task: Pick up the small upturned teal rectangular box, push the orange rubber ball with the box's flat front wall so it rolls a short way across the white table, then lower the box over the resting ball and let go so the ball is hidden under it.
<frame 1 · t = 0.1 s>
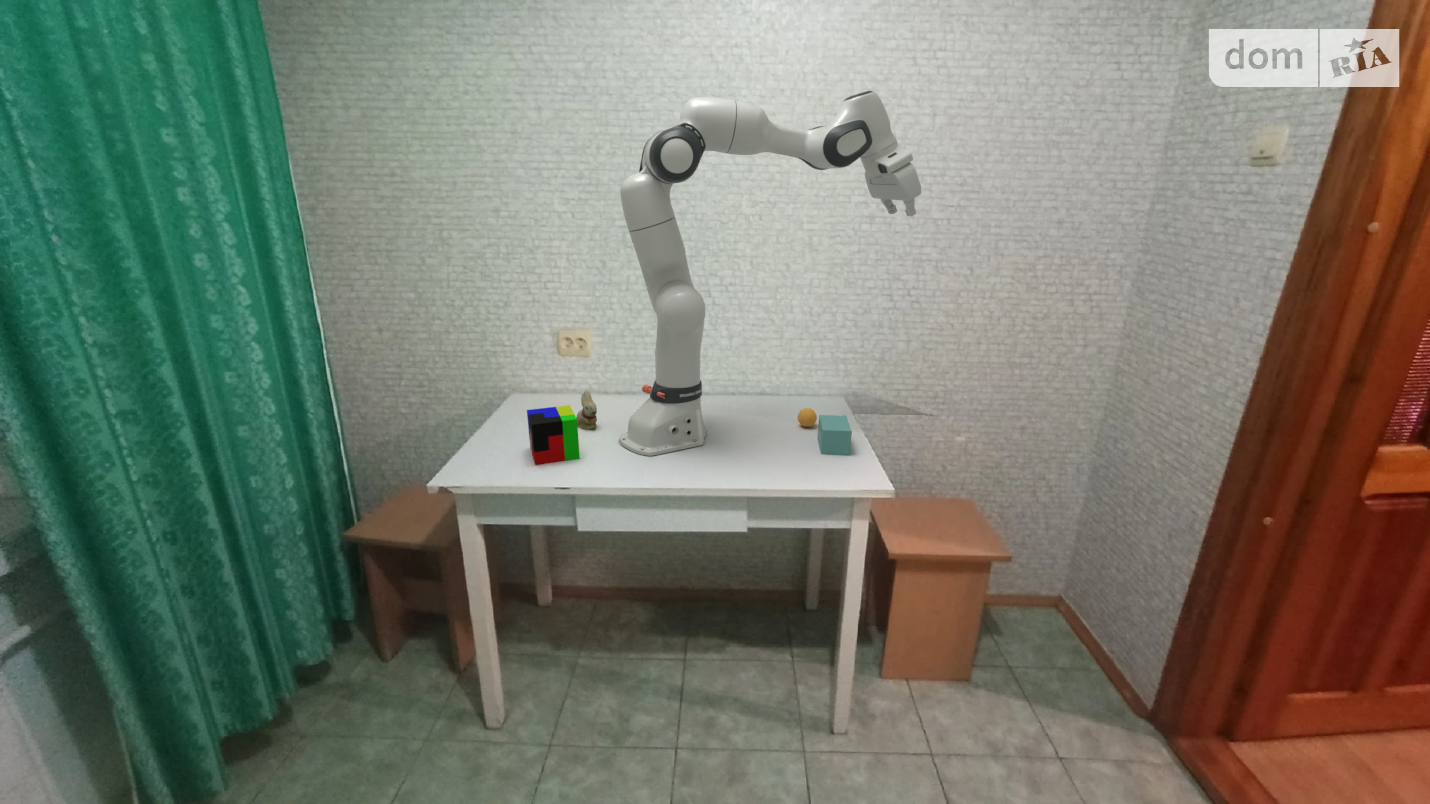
hand: (902, 214, 155), 54 cm above the table, tool tilted 30°, fingers open, 8 cm apart
puzzle toy: (554, 454, 149), on the table
chocolate bunny: (586, 426, 166), on the table
ball: (807, 417, 167), on the table
teal rectangular box: (833, 446, 156), on the table
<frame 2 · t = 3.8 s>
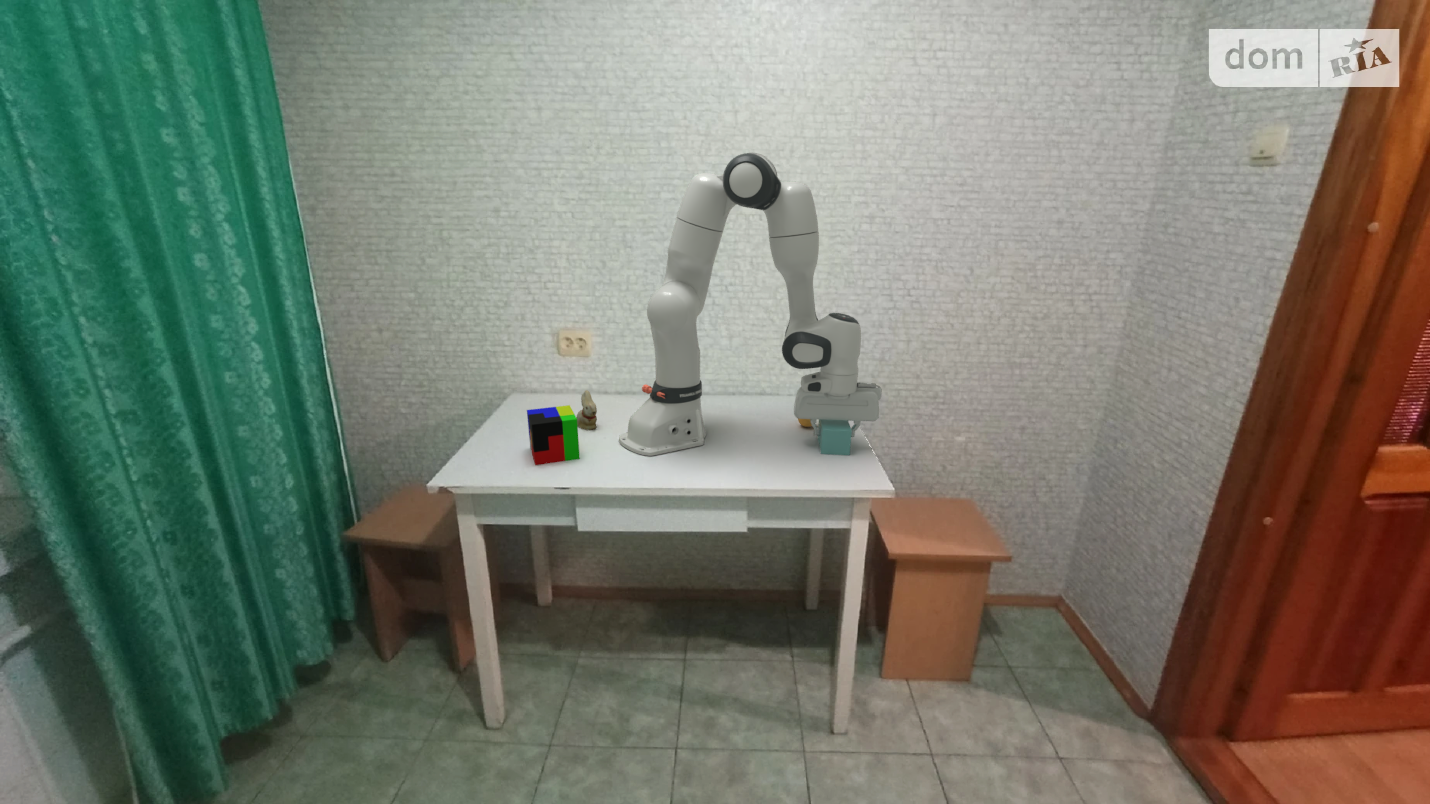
hand: (833, 435, 155), 3 cm above the table, tool pointing down, fingers closed on teal rectangular box, 7 cm apart
teal rectangular box: (833, 446, 156), on the table, touching gripper
everything else where it was.
when the fingers open (3 cm above the table, at t = 16.1 s): teal rectangular box stays where it is, point 2 cm above the table.
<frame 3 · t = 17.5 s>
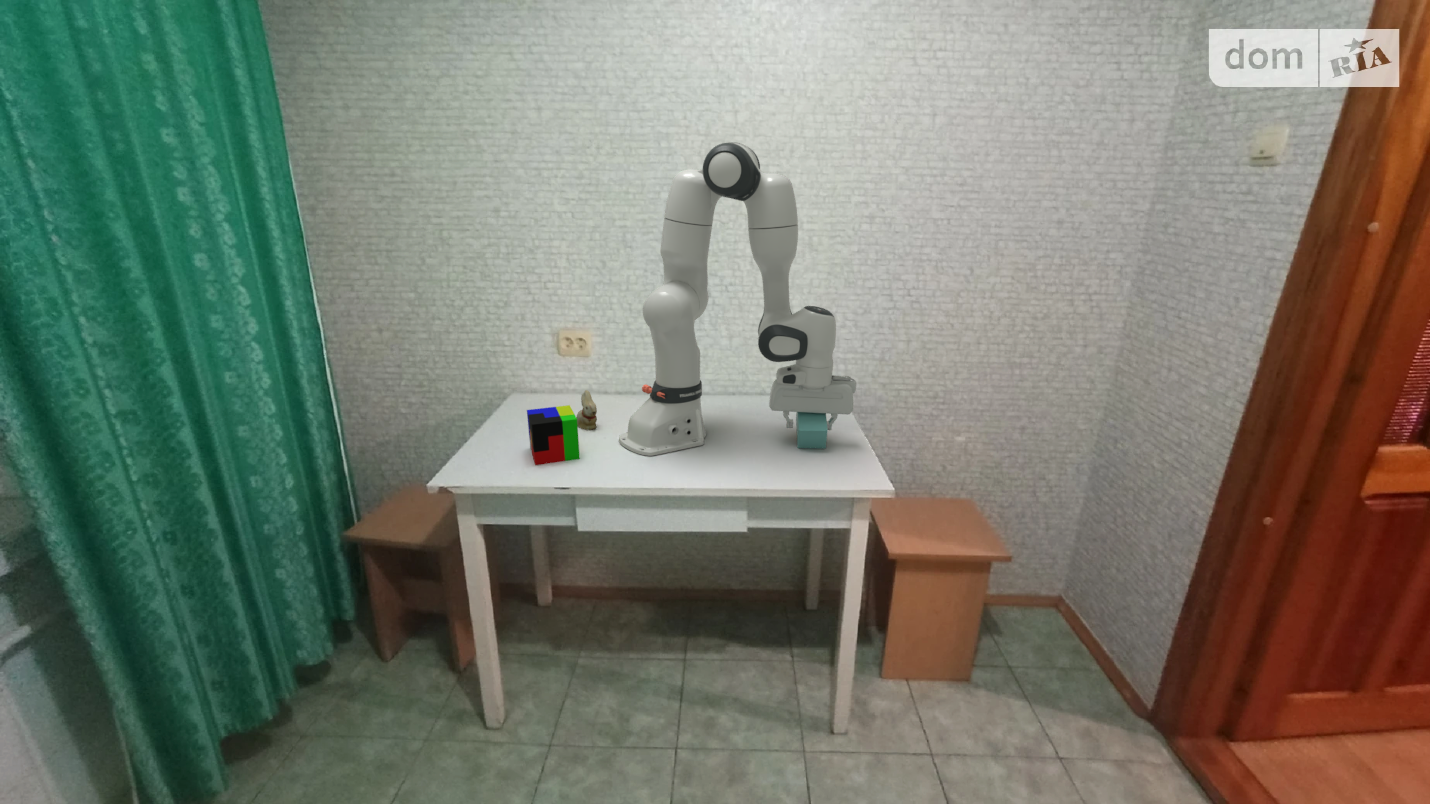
hand: (808, 428, 156), 4 cm above the table, tool pointing down, fingers open, 8 cm apart
ball: (809, 428, 159), on the table
teal rectangular box: (810, 433, 158), point 2 cm above the table, tilted 24°, touching gripper
everything else where it was.
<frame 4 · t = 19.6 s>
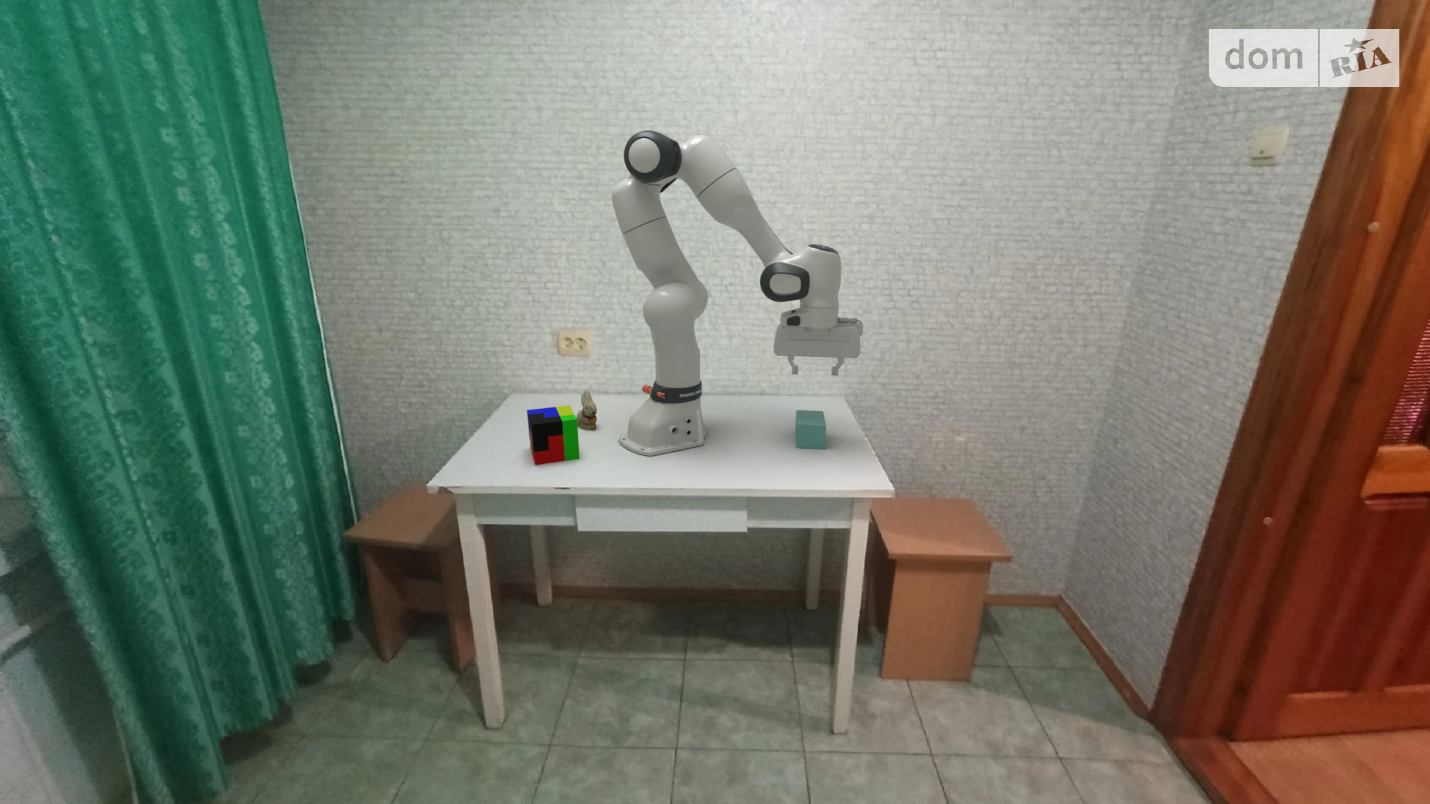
hand: (814, 374, 151), 18 cm above the table, tool pointing down, fingers open, 8 cm apart
teal rectangular box: (809, 440, 159), on the table
everything else where it was.
at the end: ball 1.7 cm from the teal rectangular box (horizontally); teal rectangular box on the table; ball moved 8.1 cm from its start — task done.
